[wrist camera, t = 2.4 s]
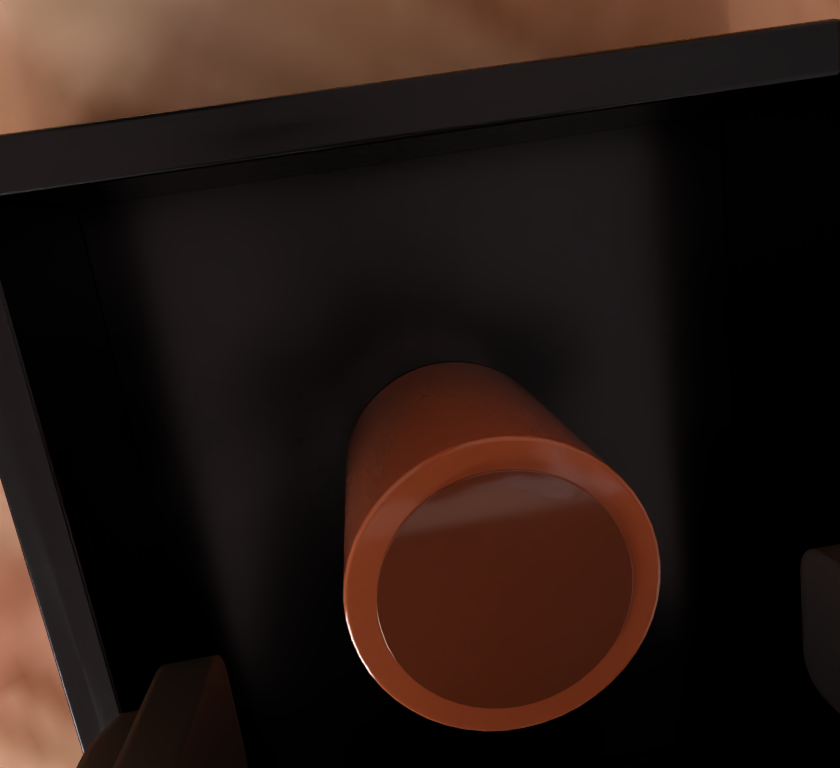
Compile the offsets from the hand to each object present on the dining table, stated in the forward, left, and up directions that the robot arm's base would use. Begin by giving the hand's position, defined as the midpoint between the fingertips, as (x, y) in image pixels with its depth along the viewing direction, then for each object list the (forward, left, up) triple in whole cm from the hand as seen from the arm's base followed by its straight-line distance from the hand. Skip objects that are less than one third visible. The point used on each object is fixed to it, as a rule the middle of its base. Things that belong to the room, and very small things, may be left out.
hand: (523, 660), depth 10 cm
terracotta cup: (0, 0, -7) cm, 7 cm away
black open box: (+1, 0, -8) cm, 8 cm away
